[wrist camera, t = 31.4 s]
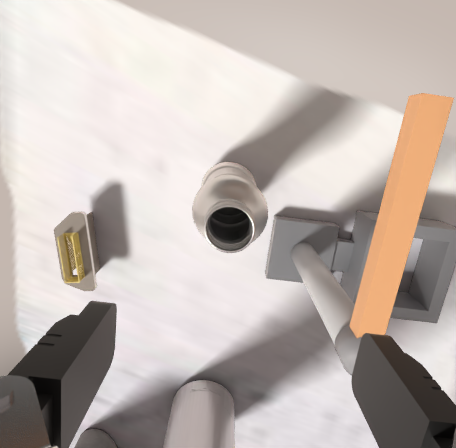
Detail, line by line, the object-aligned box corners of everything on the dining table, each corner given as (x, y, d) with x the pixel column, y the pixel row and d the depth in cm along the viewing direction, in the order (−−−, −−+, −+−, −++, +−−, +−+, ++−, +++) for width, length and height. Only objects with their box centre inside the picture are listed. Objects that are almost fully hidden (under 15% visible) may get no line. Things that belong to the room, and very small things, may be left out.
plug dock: (416, 304, 48) (553, 430, 28) (262, 285, 47) (287, 400, 27) (440, 220, 45) (615, 293, 24) (277, 200, 44) (316, 257, 24)
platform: (57, 302, 49) (31, 328, 42) (34, 174, 44) (1, 182, 38) (141, 300, 48) (128, 325, 42) (127, 171, 44) (109, 178, 37)
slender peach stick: (396, 94, 21) (411, 90, 19) (447, 102, 21) (467, 99, 19) (330, 358, 26) (337, 375, 24) (372, 364, 26) (383, 381, 24)
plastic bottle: (217, 150, 43) (208, 165, 23) (265, 176, 43) (293, 213, 24) (194, 195, 44) (166, 244, 25) (240, 220, 45) (247, 286, 26)
